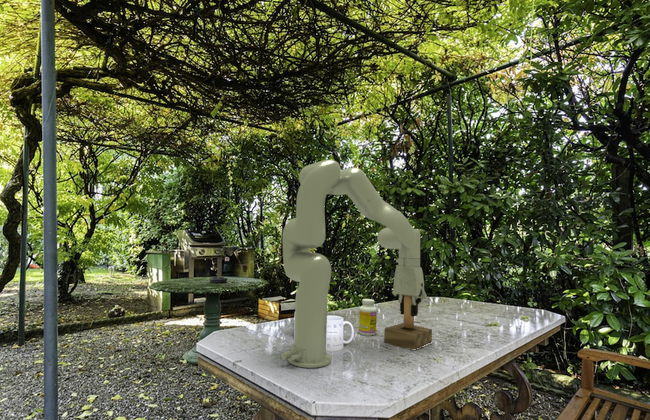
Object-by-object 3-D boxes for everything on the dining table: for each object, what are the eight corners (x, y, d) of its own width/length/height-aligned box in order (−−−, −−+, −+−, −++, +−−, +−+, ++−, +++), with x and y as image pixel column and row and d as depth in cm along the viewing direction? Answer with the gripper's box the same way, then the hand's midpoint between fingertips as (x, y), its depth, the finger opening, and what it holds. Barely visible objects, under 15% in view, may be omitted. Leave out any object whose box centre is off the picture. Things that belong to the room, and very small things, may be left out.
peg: (410, 328, 127) (411, 293, 128) (401, 326, 129) (402, 292, 130) (415, 326, 130) (416, 292, 130) (406, 324, 132) (407, 291, 133)
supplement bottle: (370, 337, 135) (371, 302, 136) (355, 334, 139) (356, 299, 140) (379, 333, 141) (380, 299, 141) (364, 330, 145) (365, 297, 145)
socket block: (414, 350, 121) (414, 335, 121) (384, 342, 129) (384, 328, 129) (431, 343, 129) (432, 329, 130) (402, 336, 137) (402, 323, 138)
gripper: (384, 261, 134) (383, 312, 133) (425, 265, 123) (425, 320, 121) (395, 261, 139) (394, 309, 138) (435, 264, 128) (435, 317, 127)
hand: (408, 314), depth 130 cm, fingers closed on peg, 3 cm apart
